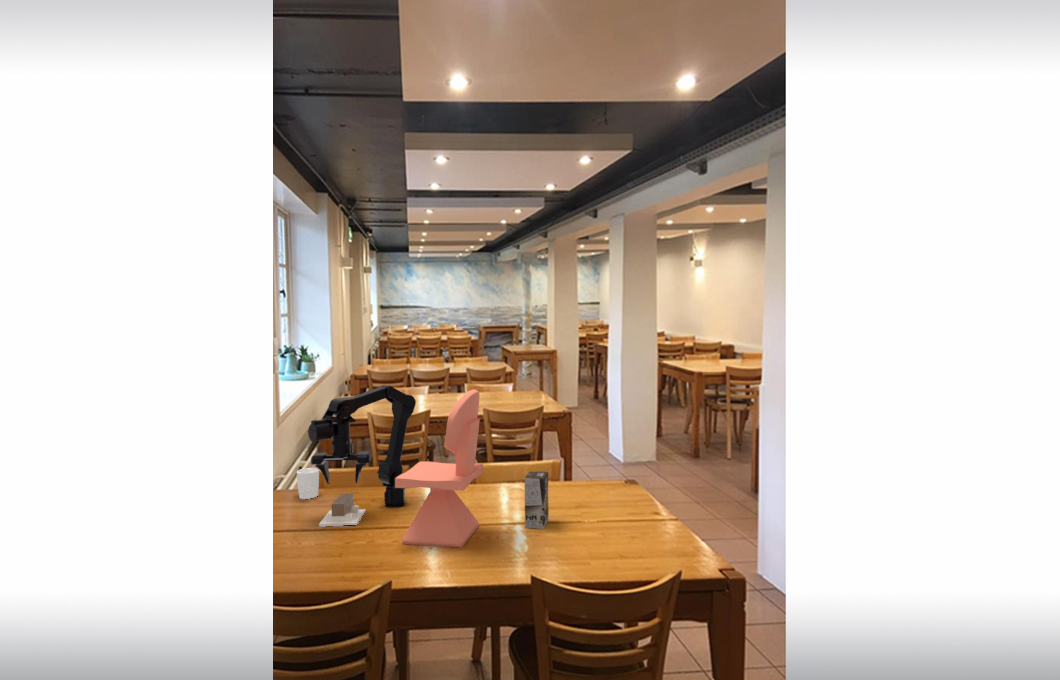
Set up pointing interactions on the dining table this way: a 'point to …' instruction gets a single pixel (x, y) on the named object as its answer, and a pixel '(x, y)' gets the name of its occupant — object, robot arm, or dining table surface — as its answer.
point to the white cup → (308, 482)
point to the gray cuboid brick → (342, 504)
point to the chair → (447, 482)
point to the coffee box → (536, 500)
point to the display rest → (343, 518)
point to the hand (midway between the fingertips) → (342, 483)
